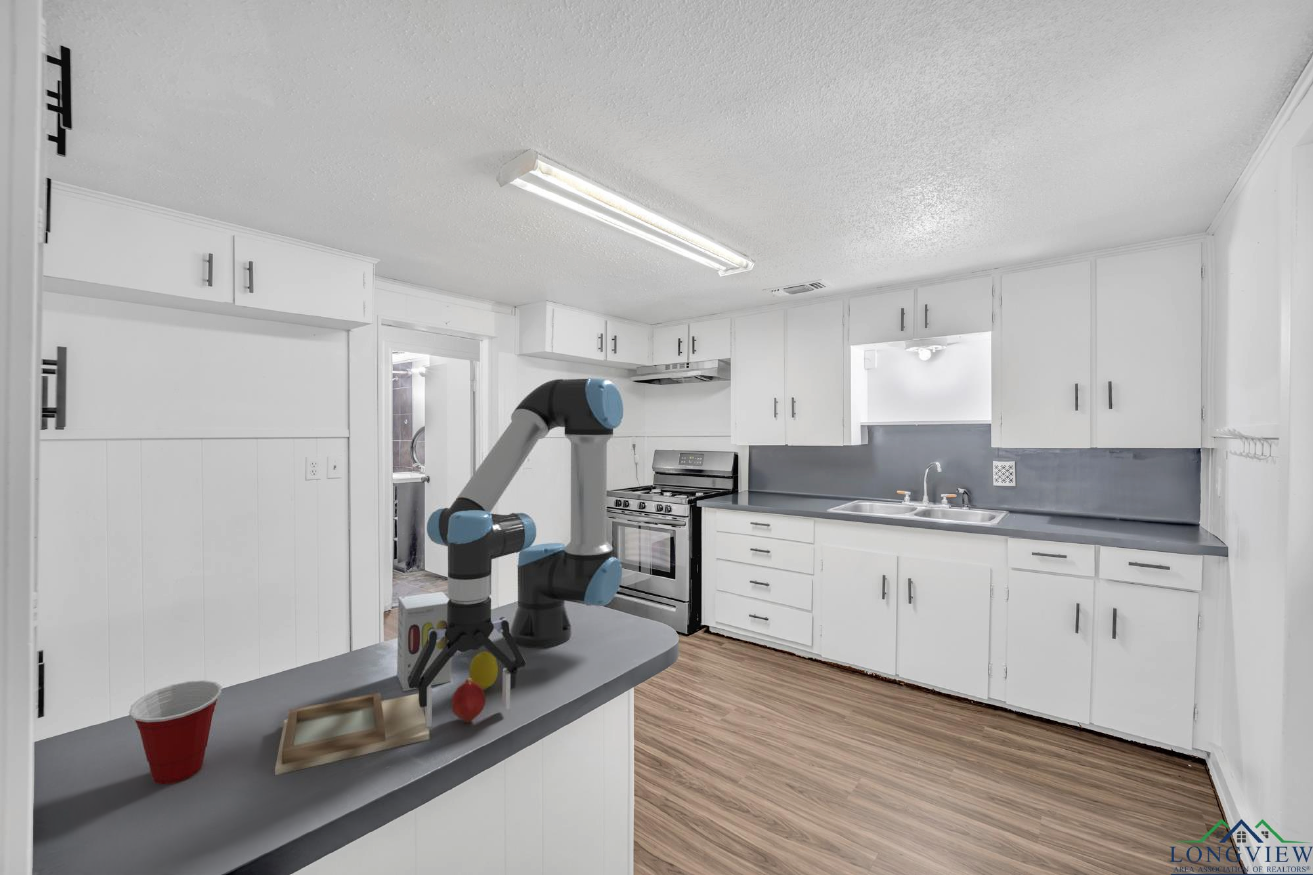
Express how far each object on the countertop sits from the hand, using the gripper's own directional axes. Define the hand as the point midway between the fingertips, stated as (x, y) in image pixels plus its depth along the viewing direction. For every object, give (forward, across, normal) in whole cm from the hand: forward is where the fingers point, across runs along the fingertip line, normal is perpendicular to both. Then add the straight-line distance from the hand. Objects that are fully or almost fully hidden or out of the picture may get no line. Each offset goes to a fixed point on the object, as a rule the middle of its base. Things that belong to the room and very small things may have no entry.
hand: (468, 714), depth 104 cm
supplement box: (+2, +5, -22) cm, 23 cm away
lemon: (+2, -5, -11) cm, 12 cm away
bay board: (+1, +18, -5) cm, 19 cm away
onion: (+2, 0, 0) cm, 2 cm away
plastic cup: (+2, +42, -4) cm, 42 cm away
